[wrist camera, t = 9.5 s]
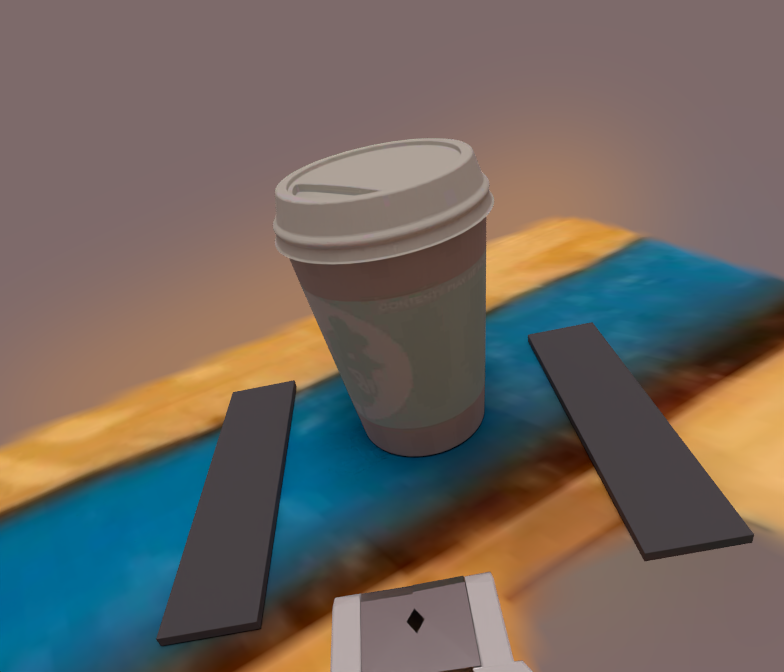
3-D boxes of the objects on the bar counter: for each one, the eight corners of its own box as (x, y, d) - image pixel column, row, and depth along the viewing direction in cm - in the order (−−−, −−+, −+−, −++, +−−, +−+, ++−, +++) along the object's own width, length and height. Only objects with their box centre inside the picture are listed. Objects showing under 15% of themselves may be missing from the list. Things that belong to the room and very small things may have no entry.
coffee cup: (324, 392, 30) (254, 171, 24) (473, 346, 31) (442, 123, 25) (356, 507, 23) (266, 231, 16) (548, 442, 24) (532, 159, 17)
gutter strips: (751, 542, 18) (753, 534, 18) (161, 645, 19) (156, 639, 19) (592, 328, 30) (592, 322, 30) (235, 397, 31) (232, 392, 31)
